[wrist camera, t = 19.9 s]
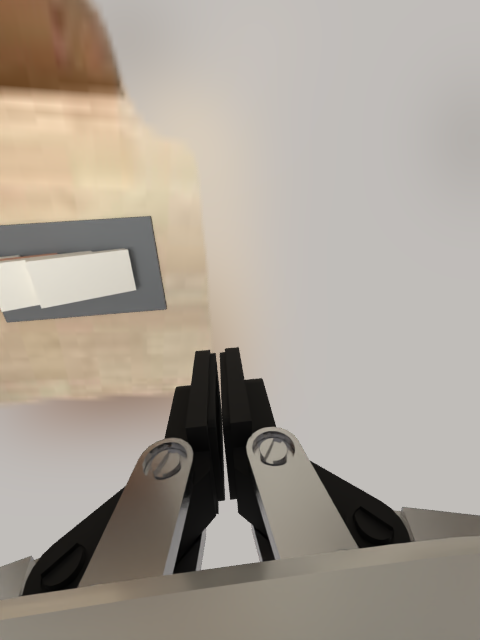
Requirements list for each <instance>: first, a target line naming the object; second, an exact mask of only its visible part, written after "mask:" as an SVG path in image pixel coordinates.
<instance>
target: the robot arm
mask: <svg viewBox="0 0 480 640" xmlns="http://www.w3.org/2000/svg"><path fill="white" fill-rule="evenodd" d="M220 369H221V370H220V371H221V400H222V410H221V400H220V391H219V381H218V371H217V362H216V353H212V354H210V350H205V351H196V352H195V359H194V366H193V374H192V381H191V385H189V386H179V387H176V389H175V393H174V398H173V403H172V407H171V412H170V416H169V421H168V425H167V430H166V434H165V439H163V440H160V441H157V442H156V443H154V444H152V445H151V446H149V447H148V448H147V449H146V450H145V451H144V452H143V453H142V455H141V456H140V458H139V459H138V461H137V464H136V465H135V468H134V470H133V472H132V474H131V476H130V478H129V481H128V482H127V485H126V486H125V487H124V488H123V489H121V490H120V491H119V492H118V493H116V494H115V495H114V496H113V497H111V498H110V499H109V500H108V501H107V502H105V503H104V504H103V505H102V506H100V507H99V508H98V509H97V510H95V511H94V512H93V513H92V514H90V515H89V516H88V517H87V518H86V519H84V520H83V521H82V522H81V523H79V524H78V525H77V526H76V527H74V528H73V529H72V530H71V531H69V532H68V533H67V534H66V535H64V536H63V537H62V538H61V539H59V540H58V541H57V542H56V543H54V544H53V545H52V546H51V547H50V548H49V549H48V550H47V551H46V552H45V553H44V554H43V555H42V556H41V558H39V559H36V560H34V559H33V557H32V556H29V557H27V558H24V559H21V560H18V561H15V562H13V563H10V564H7V565H4V566H2V567H0V640H480V516H478V515H470V514H461V513H451V512H443V511H435V510H426V509H417V508H408V507H402V510H401V511H393V510H392V509H391V508H390V507H388V506H387V505H386V504H384V503H383V502H381V501H380V500H378V499H376V498H374V497H373V496H371V495H369V494H367V493H366V492H364V491H362V490H360V489H359V488H357V487H355V486H353V485H352V484H350V483H348V482H346V481H345V480H343V479H341V478H339V477H338V476H336V475H334V474H332V473H331V472H329V471H327V470H325V469H323V468H322V467H320V466H318V465H317V464H315V463H313V462H311V461H310V460H309V459H308V457H307V455H306V453H305V452H304V450H303V448H302V446H301V444H300V443H299V441H298V440H297V438H296V437H295V436H294V435H293V434H292V433H290V432H289V431H287V430H284V429H282V428H277V427H276V425H275V421H274V418H273V414H272V411H271V407H270V404H269V400H268V397H267V393H266V390H265V386H264V382H263V379H261V378H260V379H250V380H244V376H243V370H242V364H241V358H240V353H239V348H238V347H237V348H226V349H225V352H223V353H220ZM222 423H223V431H222ZM223 435H224V444H225V454H226V462H227V473H228V482H229V492H230V499H237V502H238V513H239V514H240V515H241V516H243V517H244V518H245V519H246V520H247V521H249V522H250V523H251V526H252V533H253V537H254V540H255V544H256V548H257V552H258V556H259V560H260V562H258V563H250V564H243V565H236V566H229V567H222V568H215V569H207V570H201V565H202V558H203V552H204V546H205V539H206V527H207V526H208V525H209V523H210V522H211V521H212V520H213V519H214V518H215V516H216V514H218V501H224V500H225V489H224V463H223V461H224V460H223Z"/></svg>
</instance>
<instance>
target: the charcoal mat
mask: <svg viewBox="0 0 480 640" xmlns="http://www.w3.org/2000/svg"><path fill="white" fill-rule="evenodd" d="M122 248H125V249H128V252H129V257H130V262H131V267H132V272H133V277H134V281H135V286H136V290H134V291H129V292H124V293H119V294H114V295H109V296H103V297H98V298H93V299H88V300H83V301H78V302H73V303H68V304H63V305H58V306H52V307H47V308H42V309H41V306H40V305H36V306H31V307H25V308H20V309H15V310H10V311H5V312H3V314H4V317H5V319H6V321H7V322H19V321H31V320H43V319H55V318H67V317H80V316H92V315H104V314H116V313H128V312H140V311H152V310H164V309H167V308H166V302H165V296H164V291H163V285H162V279H161V273H160V267H159V261H158V256H157V250H156V244H155V238H154V232H153V227H152V221H151V216H147V217H130V218H114V219H98V220H82V221H66V222H50V223H34V224H17V225H1V226H0V257H5V256H15V255H20V257H23V256H32V255H41V254H50V253H57V254H65V253H73V252H82V251H92V252H96V251H104V250H113V249H122Z"/></svg>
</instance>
